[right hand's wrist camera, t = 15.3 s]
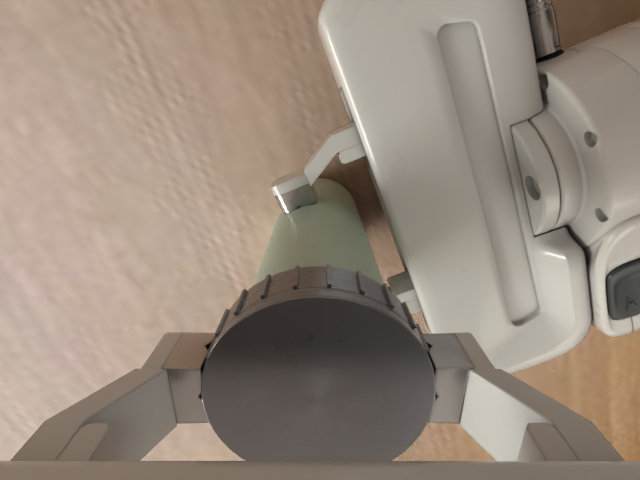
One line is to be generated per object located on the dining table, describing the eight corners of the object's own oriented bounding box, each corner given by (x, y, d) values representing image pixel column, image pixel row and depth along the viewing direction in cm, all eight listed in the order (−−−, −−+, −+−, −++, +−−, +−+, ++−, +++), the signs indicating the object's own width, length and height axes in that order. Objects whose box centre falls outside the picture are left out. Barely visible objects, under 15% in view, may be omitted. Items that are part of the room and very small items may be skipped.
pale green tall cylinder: (363, 241, 24) (422, 432, 10) (292, 256, 25) (254, 460, 11) (349, 170, 23) (398, 280, 8) (273, 187, 23) (197, 319, 9)
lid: (447, 279, 10) (470, 313, 8) (395, 442, 12) (406, 493, 10) (222, 246, 9) (203, 275, 8) (210, 420, 11) (194, 470, 10)
